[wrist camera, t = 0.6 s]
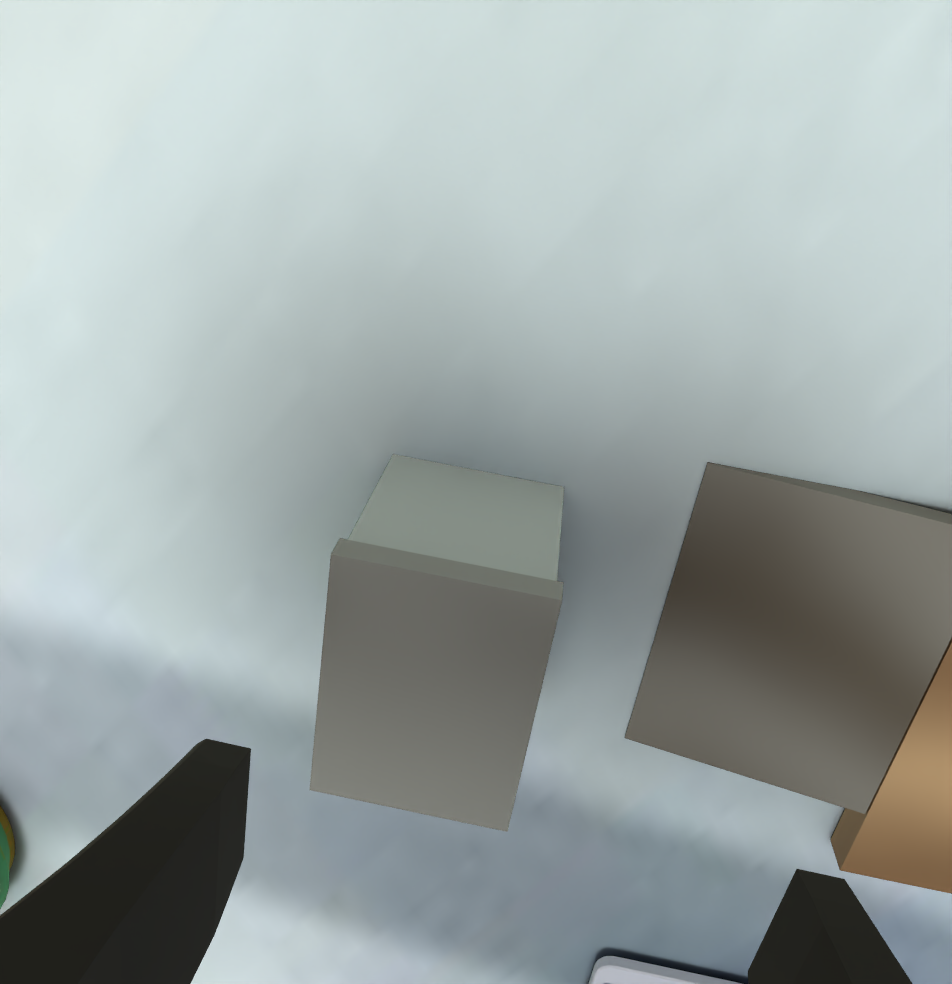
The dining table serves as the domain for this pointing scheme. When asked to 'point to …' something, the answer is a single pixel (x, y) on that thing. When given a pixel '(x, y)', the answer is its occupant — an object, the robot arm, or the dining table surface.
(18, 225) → the dining table surface
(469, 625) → the grey lidded box
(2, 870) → the beverage can
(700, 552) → the dock
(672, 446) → the dining table surface
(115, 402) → the dining table surface
